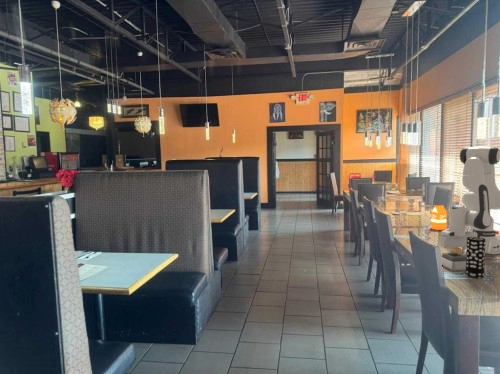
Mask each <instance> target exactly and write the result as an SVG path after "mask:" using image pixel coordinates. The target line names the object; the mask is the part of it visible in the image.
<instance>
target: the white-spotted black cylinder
mask: <svg viewBox="0 0 500 374" xmlns="http://www.w3.org/2000/svg"><path fill="white" fill-rule="evenodd" d="M465 251H466V252H465V254H466V270H465V277H468V278H471V279H483V278H484V277H485V259H486V258H485V257H486V256H485V255H486V253H485V239H484V238H480V237H467V247H466V250H465Z"/></svg>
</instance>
